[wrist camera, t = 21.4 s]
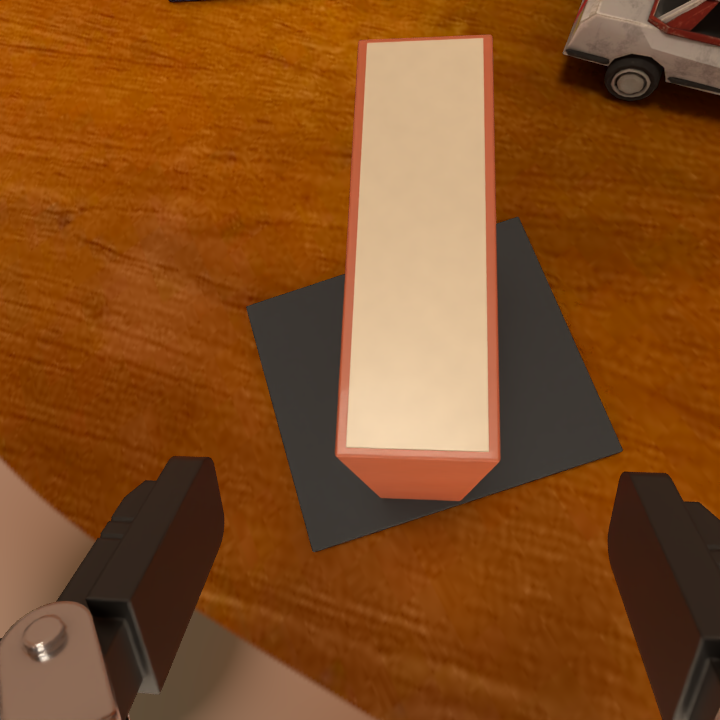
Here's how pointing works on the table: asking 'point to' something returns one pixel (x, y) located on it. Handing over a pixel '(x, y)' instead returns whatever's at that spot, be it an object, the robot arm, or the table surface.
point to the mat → (516, 397)
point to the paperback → (421, 271)
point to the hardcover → (180, 0)
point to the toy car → (649, 43)
